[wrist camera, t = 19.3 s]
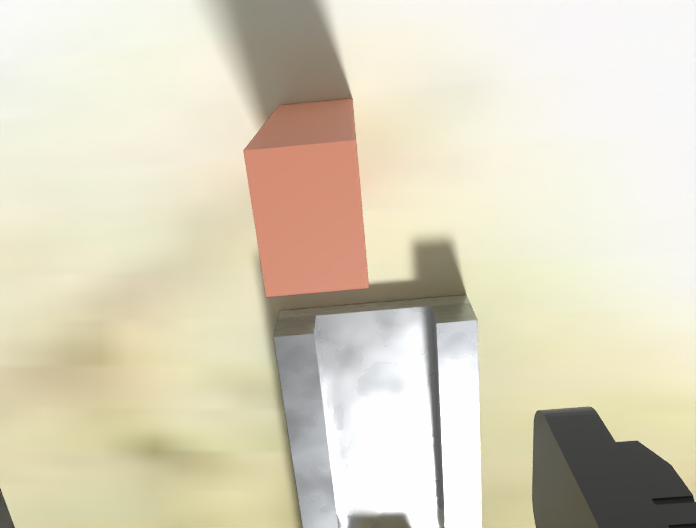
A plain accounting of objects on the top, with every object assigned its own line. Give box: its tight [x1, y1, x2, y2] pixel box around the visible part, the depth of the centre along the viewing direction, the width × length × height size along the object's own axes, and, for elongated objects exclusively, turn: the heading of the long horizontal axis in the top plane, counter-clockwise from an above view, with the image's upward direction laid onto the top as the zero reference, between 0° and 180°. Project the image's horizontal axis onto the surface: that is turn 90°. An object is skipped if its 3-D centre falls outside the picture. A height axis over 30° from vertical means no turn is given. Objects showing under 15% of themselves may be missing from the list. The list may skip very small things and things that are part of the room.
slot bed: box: [274, 295, 481, 528], centre depth 35 cm, size 10×16×3 cm, turn 5°
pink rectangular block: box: [243, 98, 369, 297], centre depth 25 cm, size 4×5×11 cm
